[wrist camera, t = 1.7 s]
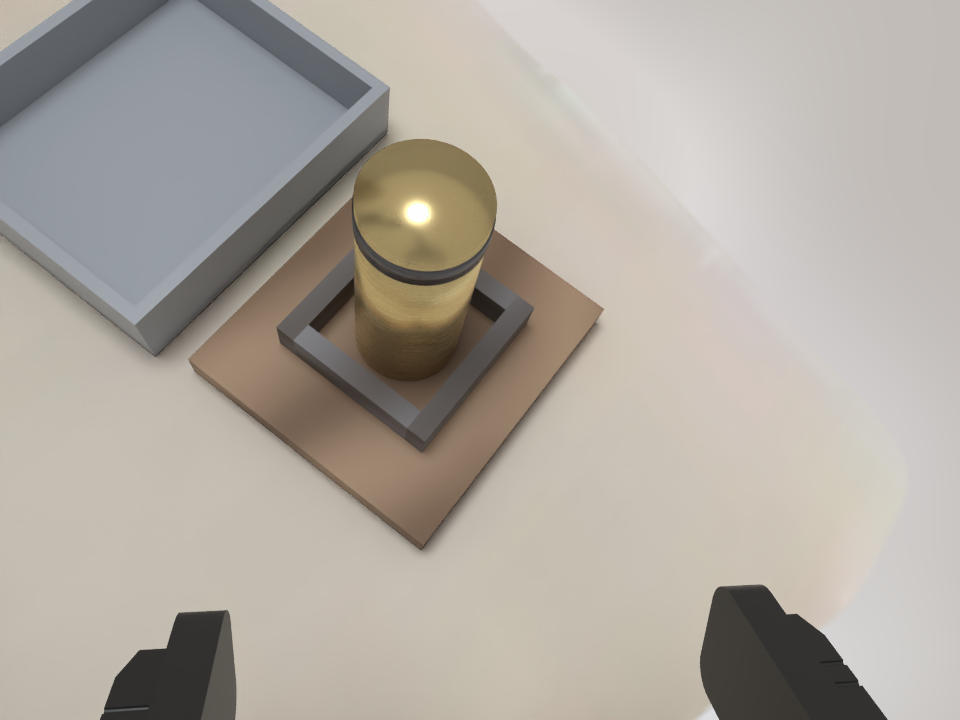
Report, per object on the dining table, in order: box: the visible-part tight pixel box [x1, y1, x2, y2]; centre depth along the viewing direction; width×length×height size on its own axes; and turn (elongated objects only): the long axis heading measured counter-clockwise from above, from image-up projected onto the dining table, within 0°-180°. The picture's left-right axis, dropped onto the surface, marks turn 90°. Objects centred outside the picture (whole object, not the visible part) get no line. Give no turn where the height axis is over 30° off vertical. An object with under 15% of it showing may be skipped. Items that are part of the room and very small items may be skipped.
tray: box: [0, 0, 390, 356], centre depth 32 cm, size 12×14×3 cm
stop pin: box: [352, 139, 497, 381], centre depth 27 cm, size 4×4×10 cm
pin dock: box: [188, 197, 604, 550], centre depth 31 cm, size 11×12×3 cm
